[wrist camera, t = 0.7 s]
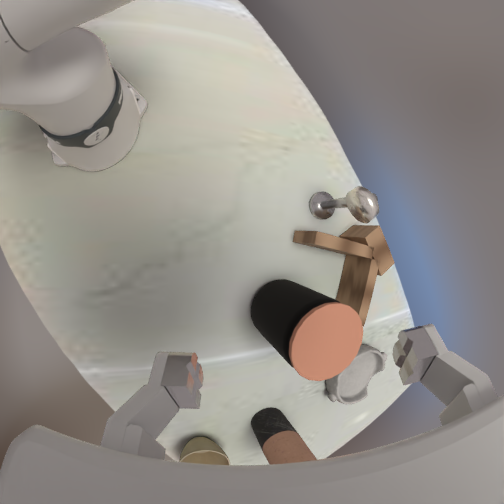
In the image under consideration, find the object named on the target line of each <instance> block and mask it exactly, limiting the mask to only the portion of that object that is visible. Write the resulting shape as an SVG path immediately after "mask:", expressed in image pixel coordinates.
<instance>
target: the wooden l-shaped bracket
mask: <svg viewBox="0 0 504 504" xmlns="http://www.w3.org/2000/svg"><path fill="white" fill-rule="evenodd" d="M293 242H296V243H300V244H304V245H308V246H312V247H316V248H320V249H325V250H329V251H333V252H337V253H341V254H345V255H346V257H345V262H344V267H343V271H342V276H341V280H340V284H339V289H338V293H337V297H336V300H337V301H339V302H340V303H341V304H345V305H349V306H350V307H351V308H353V309H354V310H355V311H356V312H357V313H358V315H359V317H360V319H361V321H362V326H364V324H365V320H366V317H367V313H368V309H369V305H370V302H371V298H372V294H373V289H374V285H375V281H376V276H377V275H380V276H382V275H383V274H384V273H385V272H386V271H387V270H388V269H389V268H390V267H391V266H392V265H393V264H394V260H393V258H392V255H391V252H390V250H389V247H388V245H387V242H386V240H385V237H384V235H383V233H382V230H381V228H380V226H364V225H353V226H352V227H351V228H349V229H348V230H347V231H345V232H344V233H343V234H342V235H340V238H339V237H336V236H332V235H329V234H325V233H322V232H318V231H295V233H294V238H293Z"/></svg>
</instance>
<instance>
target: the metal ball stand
mask: <svg viewBox="0 0 504 504" xmlns="http://www.w3.org/2000/svg"><path fill="white" fill-rule="evenodd" d="M377 201H378V199H377V196H376V195H375V194H373V193H371V192H370V191H369V190H368V189H366V188H364V187H360V186H359V187H356V188H354V189H353V190H351V191H350V192H349V193H347V195H346V197H345V198H339V199H333V198H332V196H331V195H330V194H328V193H326V192H318V193H315V194H314V195H313V196H312V197H311V199H310V202H309V208H310V211H311V213H312V214H313V216H315V217H316V218H318V219H327V218H329V217H331V216H332V214H333V213H334V210H335V208H345V207H348V209H349V211H350V212H351V214H352V215H353V216H354V217H355V218H356V219H357V220H358V221H360V222H362V223H369V222H370V221H371V220H372V219H374V218H375V217H376V216H377V215H378V213H379V205H378V202H377Z"/></svg>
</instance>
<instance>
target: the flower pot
mask: <svg viewBox="0 0 504 504" xmlns="http://www.w3.org/2000/svg"><path fill="white" fill-rule="evenodd" d="M179 462H185V463H196V464H210V465H230V461H229V459H228V457H227V455H226V454H225V452H224V451H223V450H222V449H221V448H220V447H219V446H218V445H217V444H216V443H215V442H213V441H212V440H210V439H208V438H205V437H195V438H193V439H191V440H190V441H189V442H188V443H187V444H186V446H185V447H184V449H183V451H182V453H181V456H180V461H179Z"/></svg>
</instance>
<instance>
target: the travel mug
mask: <svg viewBox="0 0 504 504" xmlns="http://www.w3.org/2000/svg"><path fill="white" fill-rule="evenodd" d="M251 425H252V428H253V430H254V433H255V435H256V437H257V439H258V442H259V444H260V446H261V448H262V451H263V453H264V455H265V457H266V458H267V460H268V462H269V464H270V465H272V464H286V463H297V462H306V461H313V460H317V459H316V458H315V456H314V455H313V453H312V452H311V451H310V449H309V448H308V447H307V445H306V444H305V442H304V441H303V440H302V438H301V437H300V435H299V434H298V433H297V431H296V430H295V429H294V428H293V426H292V425H291V424H290V422H289V421H288V420H287V418H286V417H285V416H284V415H283V413H282V412H281V411H280V410H278V409H276V408H266V409H263V410H261V411H259V412H258V413H256V414H255V415H254V417H253V418H252V421H251Z"/></svg>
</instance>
